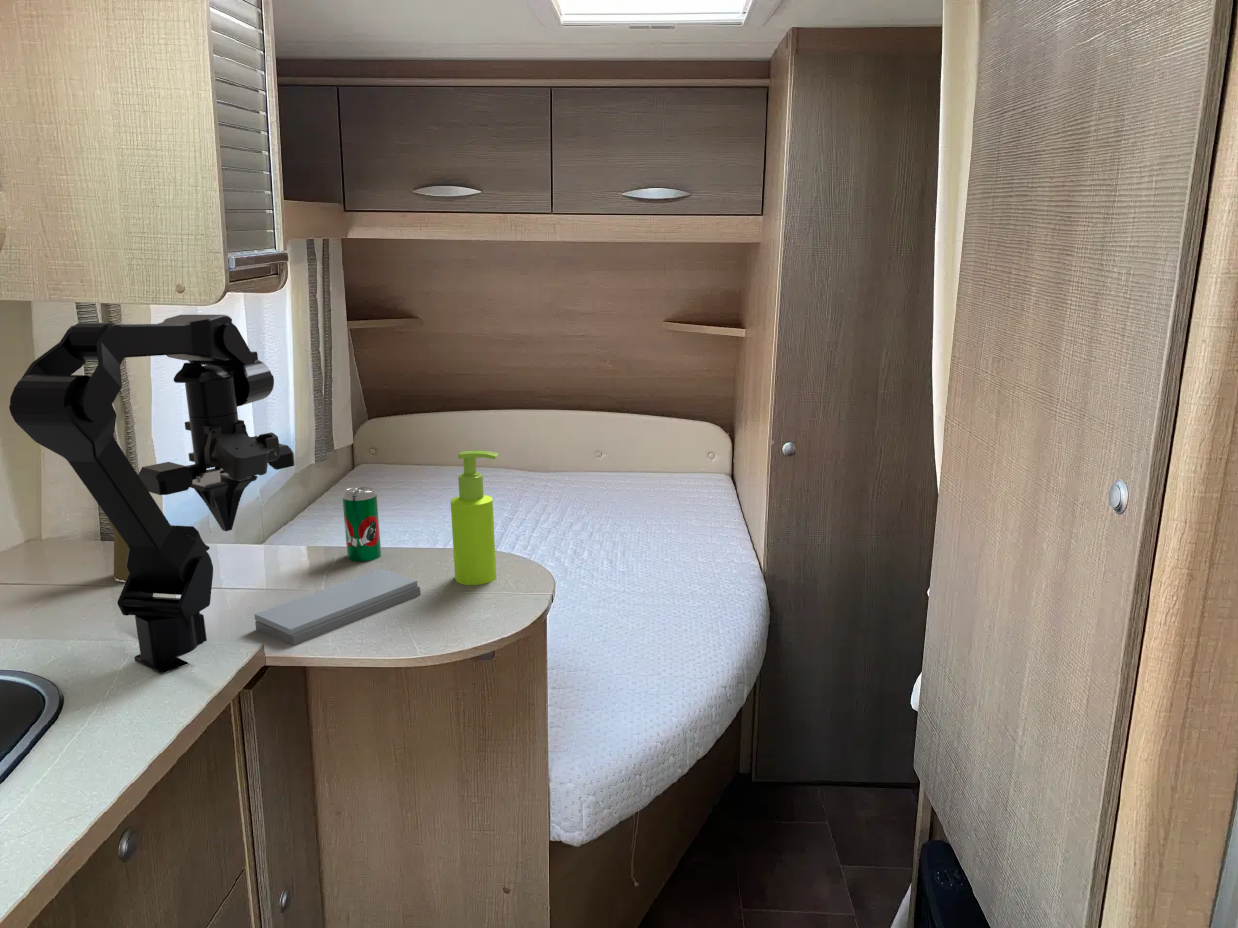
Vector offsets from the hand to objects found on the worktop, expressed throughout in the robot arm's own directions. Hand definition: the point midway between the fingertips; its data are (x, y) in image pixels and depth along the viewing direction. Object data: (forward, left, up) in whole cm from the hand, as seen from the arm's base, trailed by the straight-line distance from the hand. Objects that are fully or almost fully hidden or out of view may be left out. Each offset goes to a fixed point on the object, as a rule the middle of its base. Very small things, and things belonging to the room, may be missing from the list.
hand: (227, 530), depth 123 cm
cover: (+7, -13, -9) cm, 18 cm away
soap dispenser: (+26, -19, -12) cm, 35 cm away
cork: (0, +27, -12) cm, 30 cm away
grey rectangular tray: (+7, -14, -12) cm, 19 cm away
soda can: (+23, +2, -12) cm, 26 cm away
